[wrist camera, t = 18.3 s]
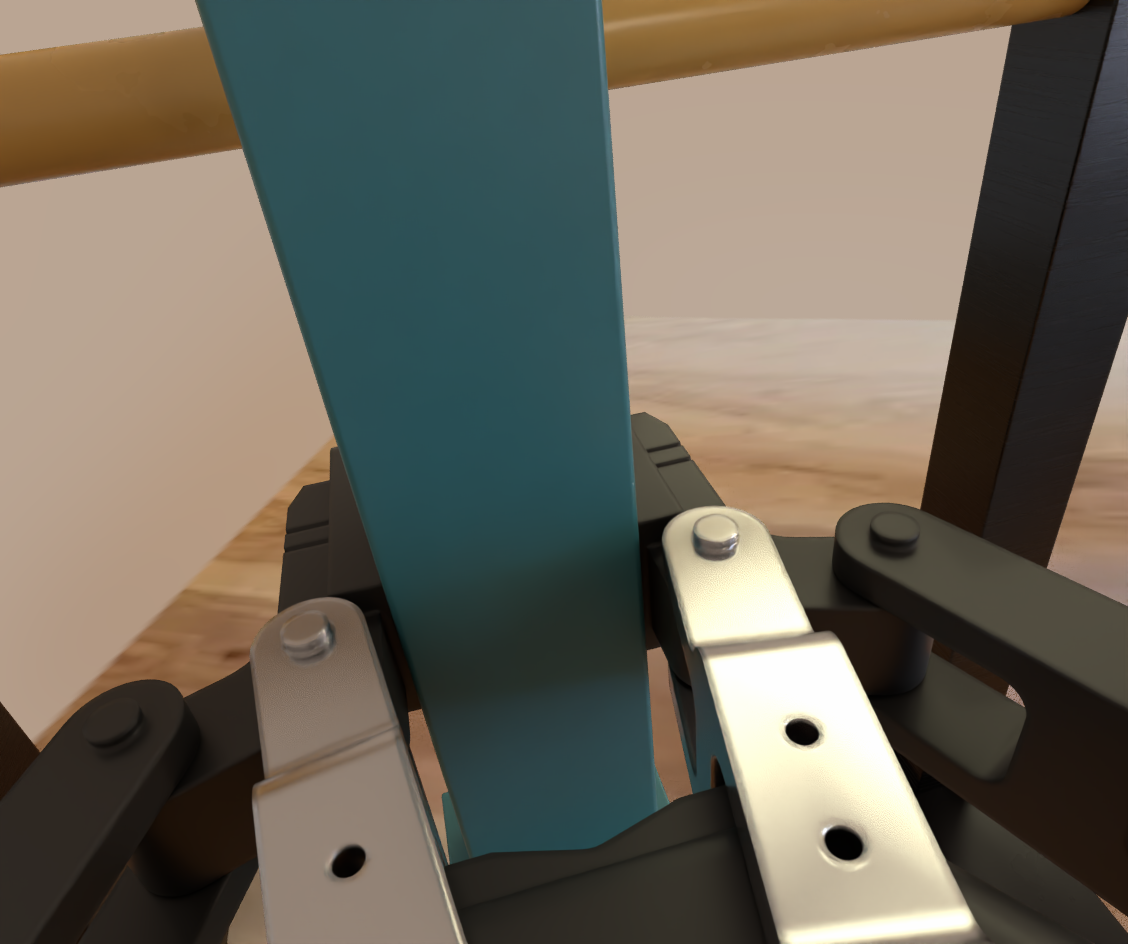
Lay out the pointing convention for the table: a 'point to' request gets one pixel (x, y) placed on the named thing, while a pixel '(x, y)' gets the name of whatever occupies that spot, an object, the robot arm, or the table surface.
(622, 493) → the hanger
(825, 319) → the table surface
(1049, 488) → the rack
